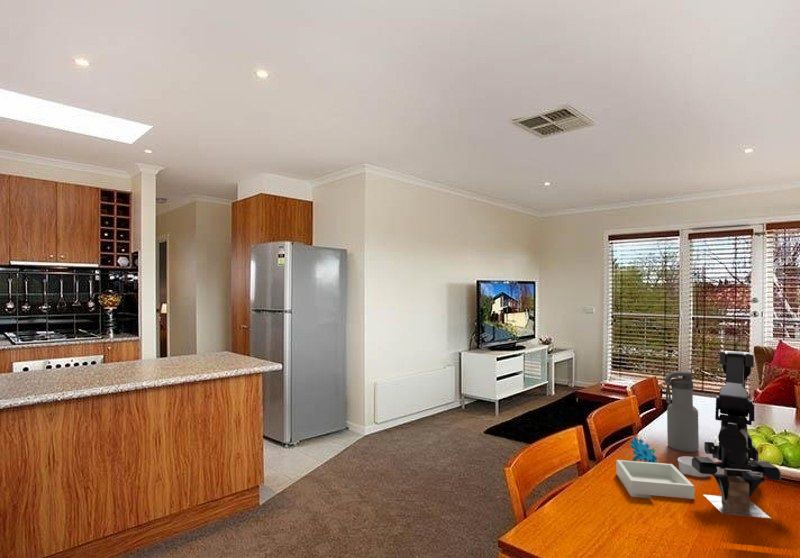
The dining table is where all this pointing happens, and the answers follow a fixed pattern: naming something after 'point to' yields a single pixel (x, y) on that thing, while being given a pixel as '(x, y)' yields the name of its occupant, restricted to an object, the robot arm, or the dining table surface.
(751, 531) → the dining table surface
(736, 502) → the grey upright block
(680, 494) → the bin
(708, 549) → the dining table surface
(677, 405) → the water bottle
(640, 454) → the blue coral
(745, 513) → the stud plate
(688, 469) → the ramekin
